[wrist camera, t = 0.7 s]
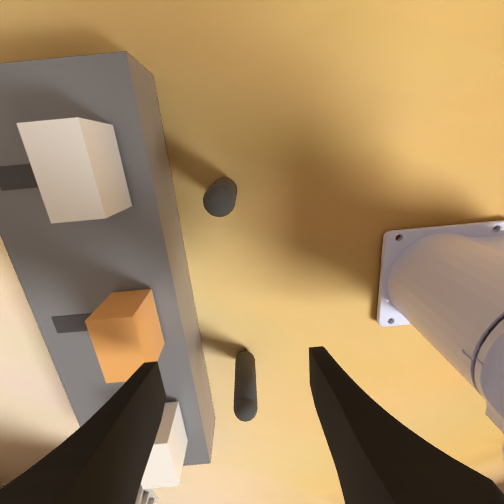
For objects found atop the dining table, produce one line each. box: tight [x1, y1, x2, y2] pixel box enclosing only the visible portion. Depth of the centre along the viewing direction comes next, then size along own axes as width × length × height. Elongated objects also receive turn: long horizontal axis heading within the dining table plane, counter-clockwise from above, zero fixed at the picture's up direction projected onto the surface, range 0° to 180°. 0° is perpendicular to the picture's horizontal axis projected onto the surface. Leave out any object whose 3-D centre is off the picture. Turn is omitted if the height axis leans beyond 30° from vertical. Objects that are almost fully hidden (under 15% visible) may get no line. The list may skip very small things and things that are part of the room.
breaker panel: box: [0, 51, 215, 466], centre depth 19 cm, size 9×28×4 cm, turn 5°
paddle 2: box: [141, 402, 188, 489], centre depth 19 cm, size 2×4×3 cm, turn 5°
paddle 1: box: [17, 117, 132, 224], centre depth 13 cm, size 2×4×3 cm, turn 5°
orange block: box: [85, 289, 165, 383], centre depth 16 cm, size 2×4×3 cm, turn 5°
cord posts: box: [203, 177, 257, 421], centre depth 18 cm, size 2×16×6 cm, turn 5°
